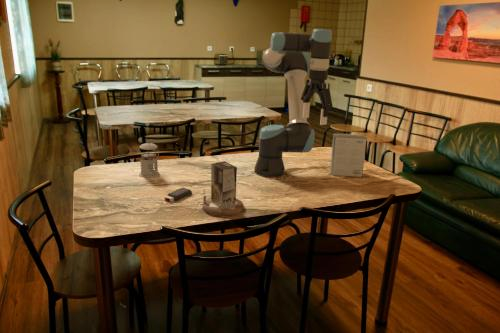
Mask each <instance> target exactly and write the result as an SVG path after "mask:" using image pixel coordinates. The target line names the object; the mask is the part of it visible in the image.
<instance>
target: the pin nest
mask: <svg viewBox="0 0 500 333" xmlns="http://www.w3.org/2000/svg"><path fill="white" fill-rule="evenodd" d="M203 210H204V211H203ZM202 211H203V212H204V213H205V212H206V213H205V214H207V215H209V214H210V215H209V216H212V215H213V217H217V216H221V218H223V217H222V216H230V217H233V216H232V215H235V216H237V215H236V214H238V213H240V212H241V211H242V212H243V211H244V203H243V202H242V200H240V199H237V198H236V206H235V207H231V208H226V209H221V205H219V207H218V206H217V205H215V204H214V203H212V202H211V197H210V198H208V199H207V197H206V195H203V200H202ZM242 212H241V213H242ZM241 213H240V214H241ZM238 215H239V214H238Z"/></svg>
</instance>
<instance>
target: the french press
mask: <svg viewBox="0 0 500 333" xmlns="http://www.w3.org/2000/svg"><path fill="white" fill-rule="evenodd" d="M150 125H151V124H150V123H149V122H146V123H145V126H146V127H147V130H146V131H147V132H149V127H148V126H150ZM139 149H141V150H144V151H145V150H146V151H147V152H143V153H141V154H140V158H139V159H140V160H139V161H140V172H139V173H138V175H139V177H141V178H144V179H145V178H146V179H150V178H157V177H159V176H161V173H160V171H159V170H158V159H159V158H158V157H159V156H160V154H159V150H158V145H157V144H155V143H152V142H145V143H142V144H141V145H139ZM150 150H151V151H154V152H150ZM156 150H157V152H156Z"/></svg>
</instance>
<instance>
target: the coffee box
mask: <svg viewBox="0 0 500 333" xmlns="http://www.w3.org/2000/svg"><path fill="white" fill-rule="evenodd" d="M210 167H211V168H210V170H211V171H210V173H211V176H210V179H211V181H210V189H211V190H210V193H211V195H210V196H211V197H210V198H211V202H212V203H214V204H215V205H217V206H218V207H219V205H221V209H226V208H231V207H235V206H236V199H237V174H238V171H237V168H238V167H237V166H236V165H233V164H231V163H229V162H227V161H218V162H212V163H210Z"/></svg>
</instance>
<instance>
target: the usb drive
mask: <svg viewBox="0 0 500 333" xmlns="http://www.w3.org/2000/svg"><path fill="white" fill-rule="evenodd" d="M192 194H193V191H192V190H191V189H190V188H186V187H181V188H178V189H176V190H174V191H171V192H169V193H167V194H166V196H164V201H166V202H168V203H173V202H176V201H181V200H182V199H185V198H187V197H189V196H191V195H192Z"/></svg>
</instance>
